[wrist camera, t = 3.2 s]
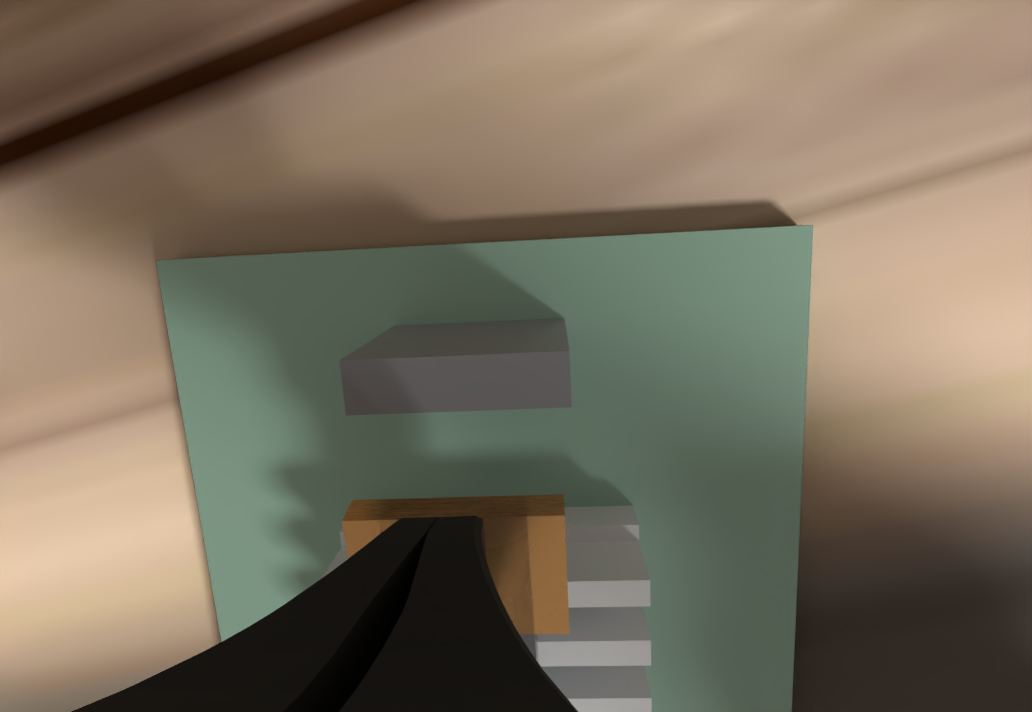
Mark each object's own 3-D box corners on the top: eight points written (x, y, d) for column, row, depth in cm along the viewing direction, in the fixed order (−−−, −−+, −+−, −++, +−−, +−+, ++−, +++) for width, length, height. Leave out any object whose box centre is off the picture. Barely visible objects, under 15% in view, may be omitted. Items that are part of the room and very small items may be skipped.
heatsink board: (771, 909, 18) (847, 1145, 14) (282, 901, 19) (196, 1119, 15) (798, 225, 14) (921, 224, 10) (175, 258, 15) (8, 273, 10)
